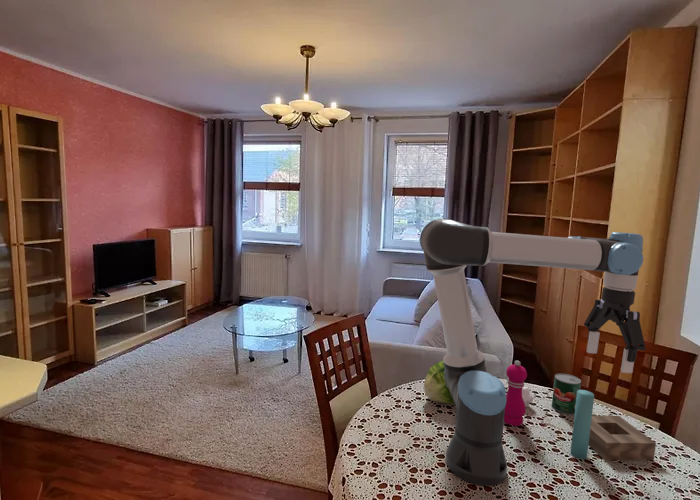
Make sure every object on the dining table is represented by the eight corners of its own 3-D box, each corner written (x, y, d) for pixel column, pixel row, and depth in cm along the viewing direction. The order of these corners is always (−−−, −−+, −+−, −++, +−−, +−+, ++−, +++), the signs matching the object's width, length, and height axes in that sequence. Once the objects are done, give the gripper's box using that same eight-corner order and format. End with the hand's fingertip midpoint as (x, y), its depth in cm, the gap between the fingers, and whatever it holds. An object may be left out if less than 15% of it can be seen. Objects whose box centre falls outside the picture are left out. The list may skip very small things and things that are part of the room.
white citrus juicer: (514, 399, 140) (516, 380, 139) (533, 404, 136) (535, 385, 135) (510, 405, 135) (511, 386, 134) (529, 411, 131) (531, 392, 130)
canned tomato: (553, 411, 132) (556, 380, 131) (550, 401, 139) (553, 371, 138) (579, 417, 129) (583, 385, 128) (575, 406, 136) (578, 375, 135)
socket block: (604, 459, 107) (606, 442, 107) (573, 430, 121) (575, 415, 120) (653, 460, 108) (656, 443, 107) (617, 431, 122) (619, 415, 121)
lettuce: (418, 397, 143) (411, 363, 138) (468, 376, 148) (463, 342, 143) (440, 427, 129) (433, 391, 123) (495, 403, 133) (490, 366, 128)
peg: (576, 459, 107) (583, 396, 105) (567, 450, 111) (574, 389, 109) (590, 459, 107) (597, 397, 105) (581, 450, 111) (588, 390, 109)
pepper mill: (526, 428, 121) (533, 366, 119) (502, 425, 122) (507, 363, 120) (521, 416, 128) (527, 357, 126) (498, 413, 129) (503, 355, 127)
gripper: (671, 300, 96) (657, 382, 98) (600, 280, 121) (590, 346, 123) (642, 298, 95) (629, 381, 98) (577, 278, 120) (568, 345, 123)
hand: (607, 362), depth 111 cm, fingers open, 13 cm apart
